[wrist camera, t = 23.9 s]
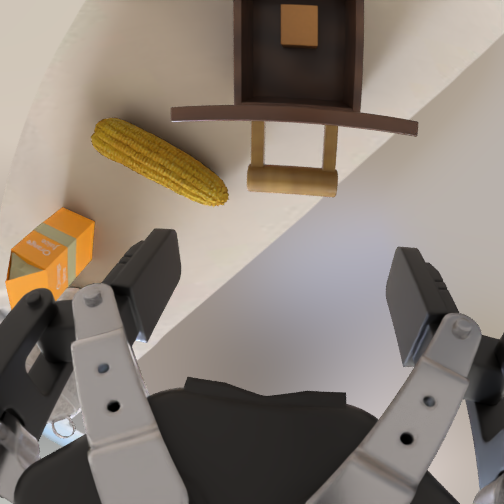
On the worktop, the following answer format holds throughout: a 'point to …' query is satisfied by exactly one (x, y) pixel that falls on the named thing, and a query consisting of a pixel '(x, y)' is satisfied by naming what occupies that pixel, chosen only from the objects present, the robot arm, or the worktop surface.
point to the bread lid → (294, 176)
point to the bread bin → (299, 57)
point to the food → (158, 161)
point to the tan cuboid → (299, 26)
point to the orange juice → (50, 255)
